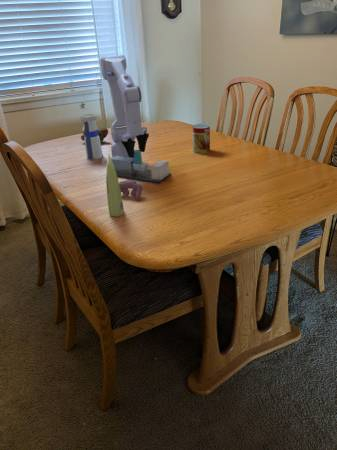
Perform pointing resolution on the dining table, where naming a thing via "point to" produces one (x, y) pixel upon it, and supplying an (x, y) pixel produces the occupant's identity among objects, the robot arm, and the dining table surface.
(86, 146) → the water bottle
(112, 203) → the tube
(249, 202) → the dining table surface
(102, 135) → the decorative turtle
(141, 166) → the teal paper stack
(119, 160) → the grey long angular block
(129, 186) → the video game controller
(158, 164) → the socket
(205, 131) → the canned food
